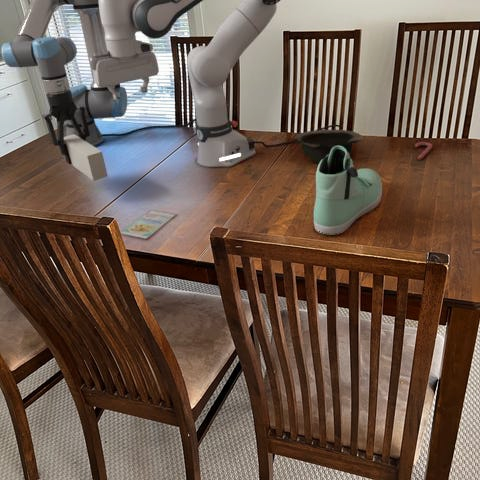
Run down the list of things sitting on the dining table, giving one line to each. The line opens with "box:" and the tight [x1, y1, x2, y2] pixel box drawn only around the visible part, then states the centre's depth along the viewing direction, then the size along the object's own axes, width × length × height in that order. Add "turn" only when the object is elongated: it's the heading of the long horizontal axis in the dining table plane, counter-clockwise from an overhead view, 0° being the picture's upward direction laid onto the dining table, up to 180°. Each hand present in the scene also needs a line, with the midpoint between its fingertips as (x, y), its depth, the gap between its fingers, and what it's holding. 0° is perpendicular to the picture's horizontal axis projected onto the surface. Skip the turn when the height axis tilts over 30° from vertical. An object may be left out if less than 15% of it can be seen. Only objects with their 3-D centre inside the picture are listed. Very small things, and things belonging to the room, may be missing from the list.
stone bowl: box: [292, 129, 365, 164], centre depth 172 cm, size 25×25×9 cm
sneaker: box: [313, 146, 383, 236], centre depth 133 cm, size 14×35×20 cm, turn 152°
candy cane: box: [414, 141, 434, 161], centre depth 170 cm, size 6×15×2 cm, turn 145°
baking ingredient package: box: [120, 209, 176, 239], centre depth 139 cm, size 9×1×15 cm
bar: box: [64, 134, 109, 182], centre depth 155 cm, size 22×5×8 cm, turn 38°
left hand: (77, 160), depth 162 cm, fingers closed on bar, 5 cm apart
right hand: (131, 95), depth 148 cm, fingers open, 8 cm apart
